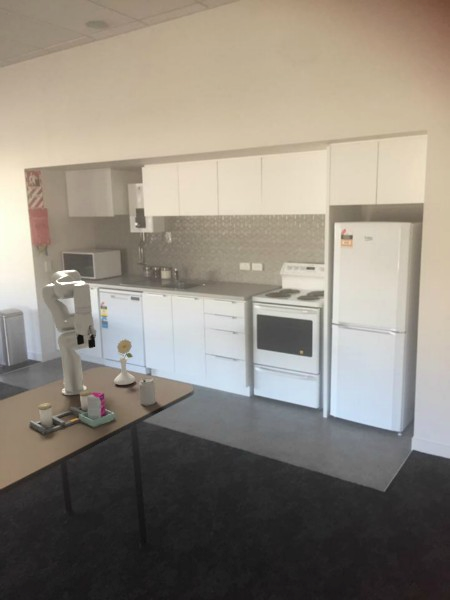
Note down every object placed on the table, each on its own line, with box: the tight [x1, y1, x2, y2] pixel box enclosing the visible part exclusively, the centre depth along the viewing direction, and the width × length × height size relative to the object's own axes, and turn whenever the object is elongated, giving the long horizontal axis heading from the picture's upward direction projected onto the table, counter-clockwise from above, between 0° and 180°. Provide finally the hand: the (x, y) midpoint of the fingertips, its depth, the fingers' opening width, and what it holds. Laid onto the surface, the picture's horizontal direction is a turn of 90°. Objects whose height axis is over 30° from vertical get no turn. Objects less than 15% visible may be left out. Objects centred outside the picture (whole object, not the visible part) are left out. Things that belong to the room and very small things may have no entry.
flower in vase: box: [113, 338, 136, 386], centre depth 270 cm, size 13×11×25 cm
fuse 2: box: [79, 389, 92, 412], centre depth 234 cm, size 5×5×10 cm
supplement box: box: [87, 392, 106, 420], centre depth 225 cm, size 6×6×12 cm
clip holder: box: [28, 406, 85, 435], centre depth 228 cm, size 13×30×2 cm, turn 137°
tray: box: [78, 408, 116, 428], centre depth 226 cm, size 11×11×3 cm
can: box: [138, 377, 157, 407], centre depth 242 cm, size 8×8×12 cm
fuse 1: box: [38, 402, 54, 430], centre depth 220 cm, size 5×5×10 cm
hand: (86, 345), depth 236 cm, fingers open, 9 cm apart
